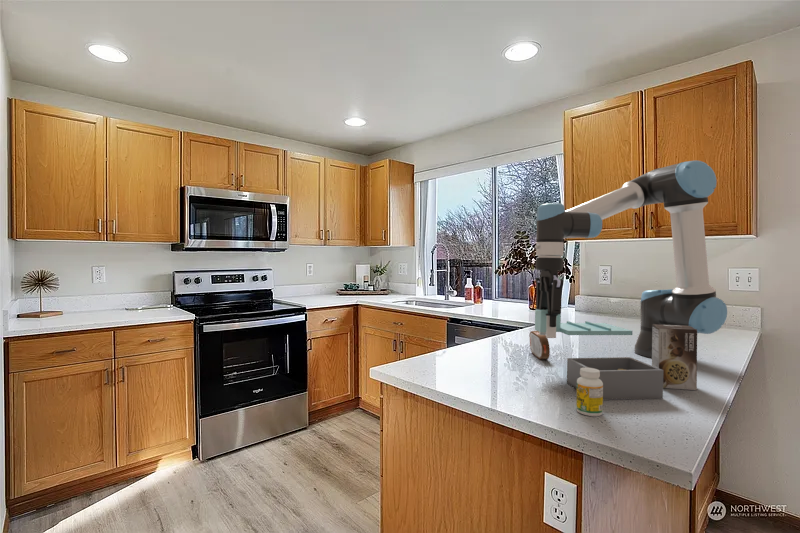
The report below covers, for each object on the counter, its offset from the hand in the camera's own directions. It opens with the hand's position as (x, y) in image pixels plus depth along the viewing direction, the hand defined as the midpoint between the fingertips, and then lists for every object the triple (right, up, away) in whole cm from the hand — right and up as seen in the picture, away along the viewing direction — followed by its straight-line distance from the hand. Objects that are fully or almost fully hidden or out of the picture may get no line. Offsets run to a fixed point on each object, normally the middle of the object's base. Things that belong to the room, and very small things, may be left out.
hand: (547, 336), depth 124 cm
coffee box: (+30, -12, -11) cm, 34 cm away
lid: (+9, +1, +1) cm, 9 cm away
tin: (+4, -11, +21) cm, 24 cm away
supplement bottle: (-1, -12, -30) cm, 33 cm away
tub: (+11, -12, -15) cm, 22 cm away
